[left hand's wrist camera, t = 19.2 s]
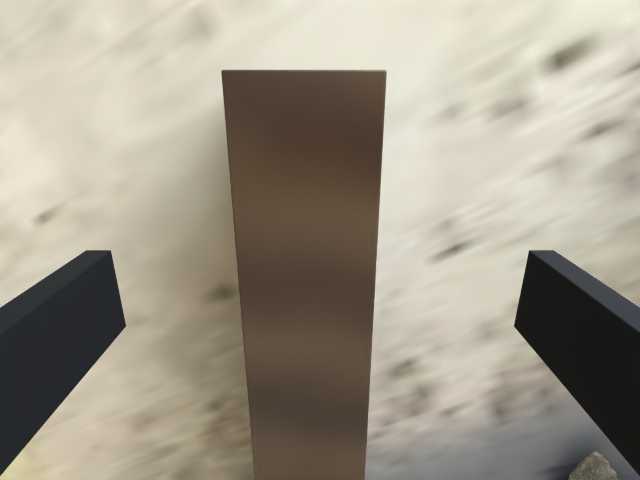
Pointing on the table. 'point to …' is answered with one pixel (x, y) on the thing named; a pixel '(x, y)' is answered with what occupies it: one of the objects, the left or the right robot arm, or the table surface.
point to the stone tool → (593, 469)
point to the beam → (306, 261)
